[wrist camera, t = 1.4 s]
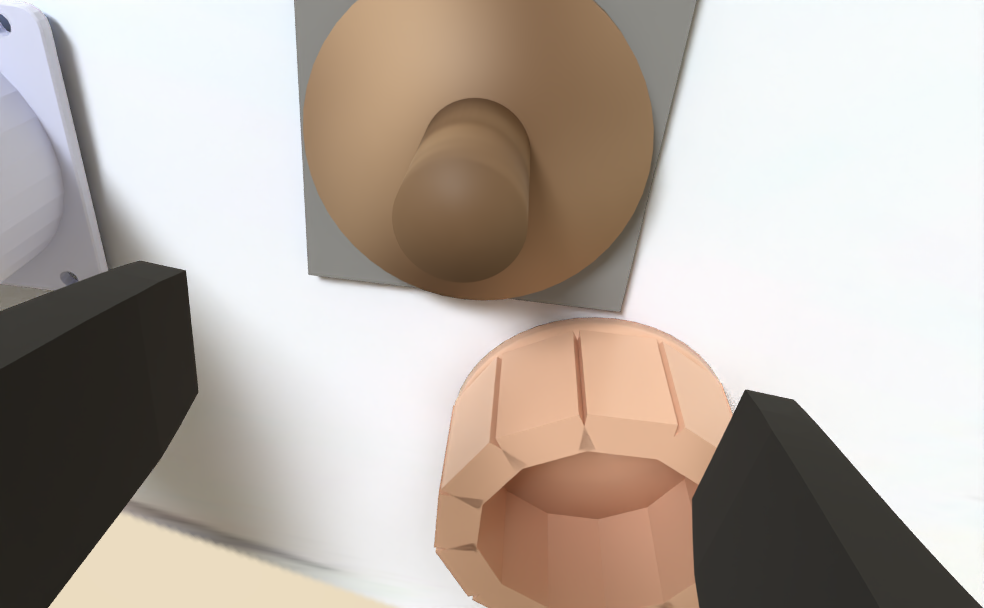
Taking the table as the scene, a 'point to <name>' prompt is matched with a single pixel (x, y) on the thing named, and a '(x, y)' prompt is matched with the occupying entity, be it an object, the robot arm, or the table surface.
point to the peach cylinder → (579, 468)
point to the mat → (601, 285)
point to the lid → (478, 139)
